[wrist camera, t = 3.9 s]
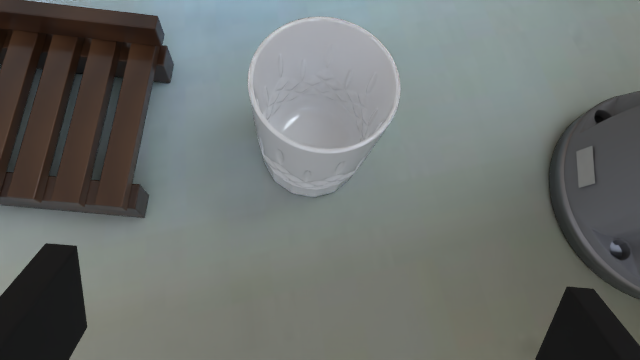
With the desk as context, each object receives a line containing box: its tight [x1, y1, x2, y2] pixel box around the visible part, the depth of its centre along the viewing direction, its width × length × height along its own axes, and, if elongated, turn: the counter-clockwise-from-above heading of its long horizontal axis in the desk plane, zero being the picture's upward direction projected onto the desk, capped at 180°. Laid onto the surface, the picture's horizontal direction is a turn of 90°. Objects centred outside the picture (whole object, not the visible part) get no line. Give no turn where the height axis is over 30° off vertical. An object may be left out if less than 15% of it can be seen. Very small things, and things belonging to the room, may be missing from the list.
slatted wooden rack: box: [0, 0, 174, 218], centre depth 30 cm, size 15×12×5 cm
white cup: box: [248, 17, 401, 197], centre depth 29 cm, size 8×8×10 cm
